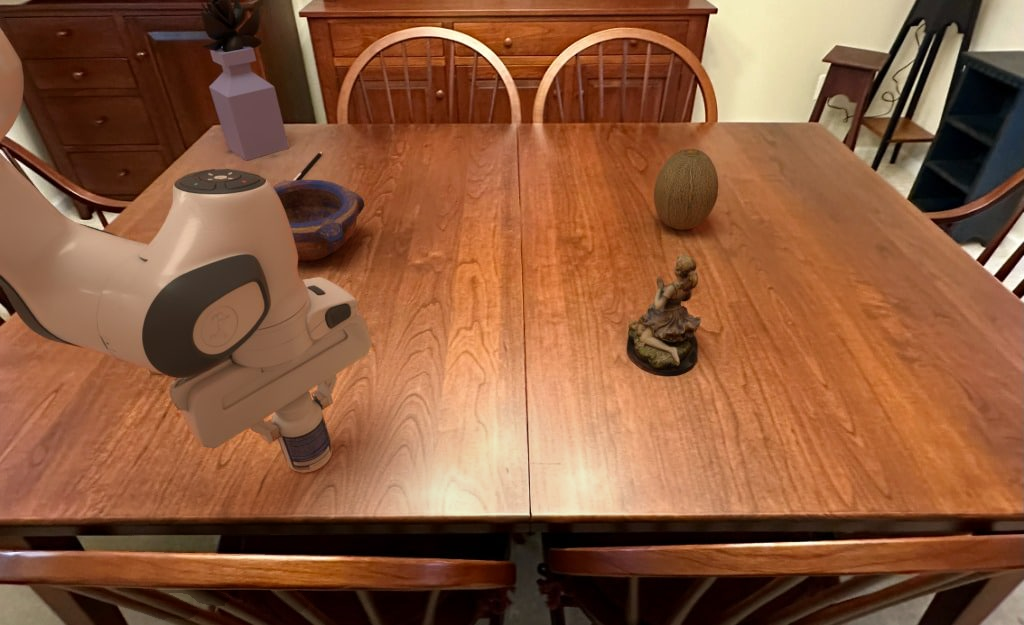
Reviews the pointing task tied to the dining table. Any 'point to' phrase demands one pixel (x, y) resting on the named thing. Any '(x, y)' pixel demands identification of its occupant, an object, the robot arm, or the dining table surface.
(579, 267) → the dining table surface
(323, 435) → the pill bottle
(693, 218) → the fruit
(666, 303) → the figurine
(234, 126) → the vase
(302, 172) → the pen
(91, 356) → the dining table surface
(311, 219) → the bowl
